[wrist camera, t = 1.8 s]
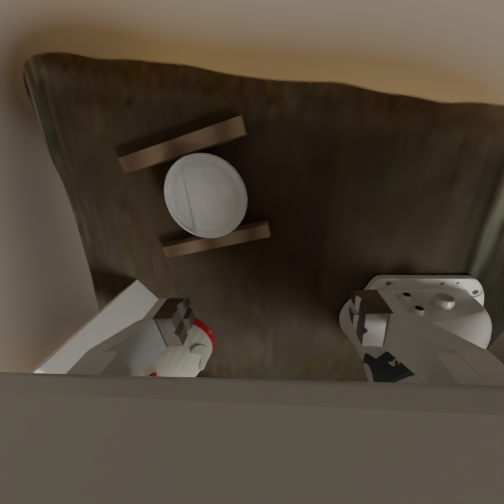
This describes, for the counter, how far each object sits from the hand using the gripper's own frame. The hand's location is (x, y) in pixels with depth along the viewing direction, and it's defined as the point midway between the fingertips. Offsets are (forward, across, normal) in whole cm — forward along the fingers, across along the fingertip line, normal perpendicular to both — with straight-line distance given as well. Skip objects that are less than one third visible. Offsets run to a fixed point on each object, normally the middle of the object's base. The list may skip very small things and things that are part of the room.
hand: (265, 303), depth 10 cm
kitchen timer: (+23, +23, +28) cm, 43 cm away
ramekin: (+23, +9, -2) cm, 25 cm away
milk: (+23, +30, +16) cm, 41 cm away
